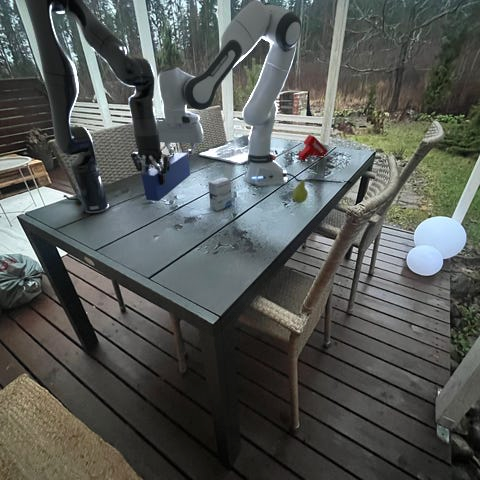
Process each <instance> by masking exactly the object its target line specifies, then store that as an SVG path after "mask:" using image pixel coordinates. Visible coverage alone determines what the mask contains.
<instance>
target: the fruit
mask: <svg viewBox="0 0 480 480" xmlns="http://www.w3.org/2000/svg"><path fill="white" fill-rule="evenodd" d="M310 177H311V175H310V174H309V175H308V176H307V177H305V179H301V180H302V181H299V182H298V184H297V185H296V186H295V187H294V188H293V190H292V191H291V198H292V200H293V201H294V202H295V203H297V204H301V203H304V202H305V201H306V200H307V198H308V196H309V195H308V190H307V189H306V184H305V183H306V181H305V180H306V179H310Z"/></svg>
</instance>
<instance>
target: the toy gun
mask: <svg viewBox="0 0 480 480" xmlns="http://www.w3.org/2000/svg"><path fill="white" fill-rule="evenodd" d="M303 144H304V146H305V147H304V148H303V149H302V150H301V151H300V152H298V154H297V156H298V159H299V160H300V161H303V162H306V161H307V159H308V158H309V157H310V156H312V157H315V156H316V155H318V156H316V157H318V158H320V159H324V158H325V156H326V154H327V153H328V149H327V148H326V147H325V146H324V145H323V144H322V143H321V142H320V141H319V140H318V138H316V137H315V135H311V134H309V135H308V136H307V137H306V138H305V140H304V141H303ZM324 155H325V156H324ZM319 156H324V157H319ZM305 159H306V160H305Z"/></svg>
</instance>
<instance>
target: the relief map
mask: <svg viewBox="0 0 480 480" xmlns="http://www.w3.org/2000/svg"><path fill="white" fill-rule="evenodd" d="M248 152H249V144H248V145H245V146H243V147H241V146H239V145H238V144H237V143H236V142H235V141H233V142H231V141H229V142H228V143H227V144H224V145H221V146H219V147H215V148H209V149H208V150H206V151H202V152H200V153H199V154H198V155H199V156H201V157H205V158H208V159H213V160H219V161H223V162H228V163H231V164H236V165H242V164H245V163H247V155H248Z"/></svg>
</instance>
